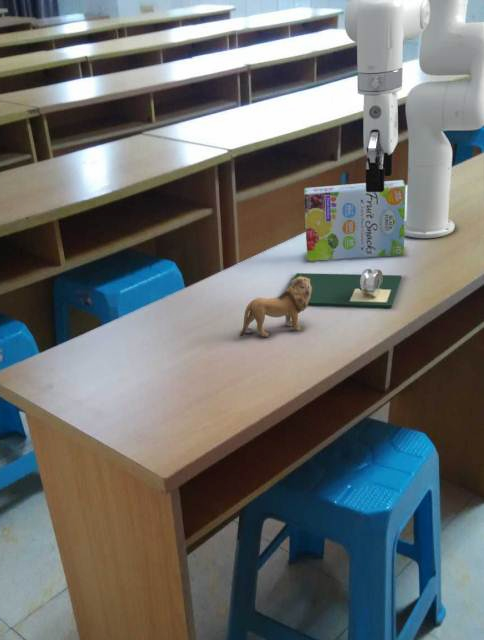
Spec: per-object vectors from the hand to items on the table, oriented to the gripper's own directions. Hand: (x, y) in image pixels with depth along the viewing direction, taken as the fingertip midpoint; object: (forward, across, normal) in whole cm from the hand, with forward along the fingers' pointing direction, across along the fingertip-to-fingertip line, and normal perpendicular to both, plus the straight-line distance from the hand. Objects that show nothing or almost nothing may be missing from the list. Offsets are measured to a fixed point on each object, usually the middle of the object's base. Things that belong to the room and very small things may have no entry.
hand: (379, 183), depth 132 cm
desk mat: (+20, -3, +7) cm, 22 cm away
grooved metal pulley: (+20, -6, +1) cm, 21 cm away
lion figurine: (+20, -21, +15) cm, 33 cm away
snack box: (+21, +18, +8) cm, 29 cm away
